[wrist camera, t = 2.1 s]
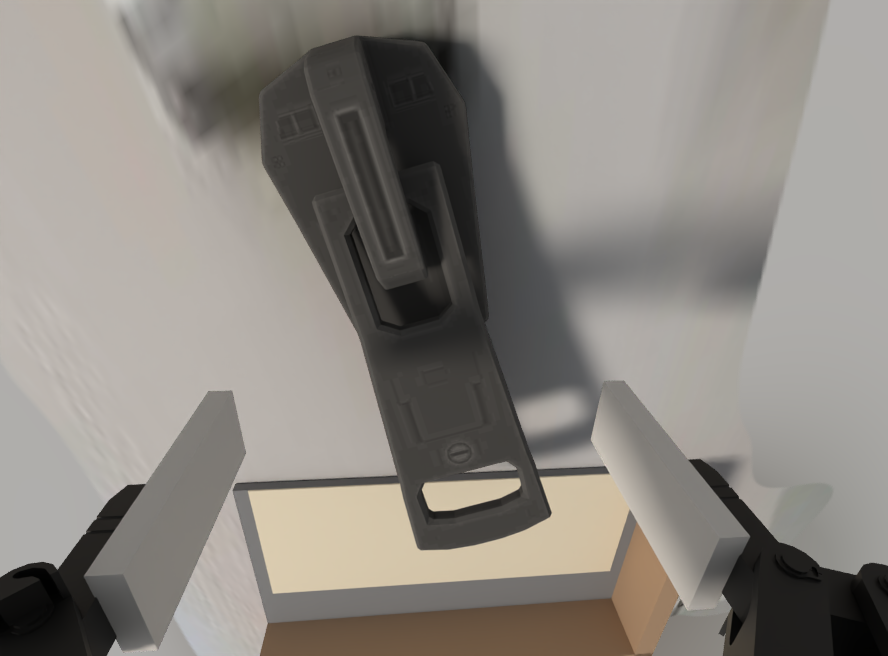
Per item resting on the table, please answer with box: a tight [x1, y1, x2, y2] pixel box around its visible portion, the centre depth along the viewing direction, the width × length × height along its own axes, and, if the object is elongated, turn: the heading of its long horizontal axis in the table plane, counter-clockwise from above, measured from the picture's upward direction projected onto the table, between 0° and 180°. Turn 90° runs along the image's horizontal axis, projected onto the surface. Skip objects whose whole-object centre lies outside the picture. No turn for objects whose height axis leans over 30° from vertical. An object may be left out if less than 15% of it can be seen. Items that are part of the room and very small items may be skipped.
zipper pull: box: [259, 36, 552, 550], centre depth 22 cm, size 9×7×25 cm
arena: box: [233, 467, 679, 656], centre depth 33 cm, size 16×30×5 cm, turn 89°
